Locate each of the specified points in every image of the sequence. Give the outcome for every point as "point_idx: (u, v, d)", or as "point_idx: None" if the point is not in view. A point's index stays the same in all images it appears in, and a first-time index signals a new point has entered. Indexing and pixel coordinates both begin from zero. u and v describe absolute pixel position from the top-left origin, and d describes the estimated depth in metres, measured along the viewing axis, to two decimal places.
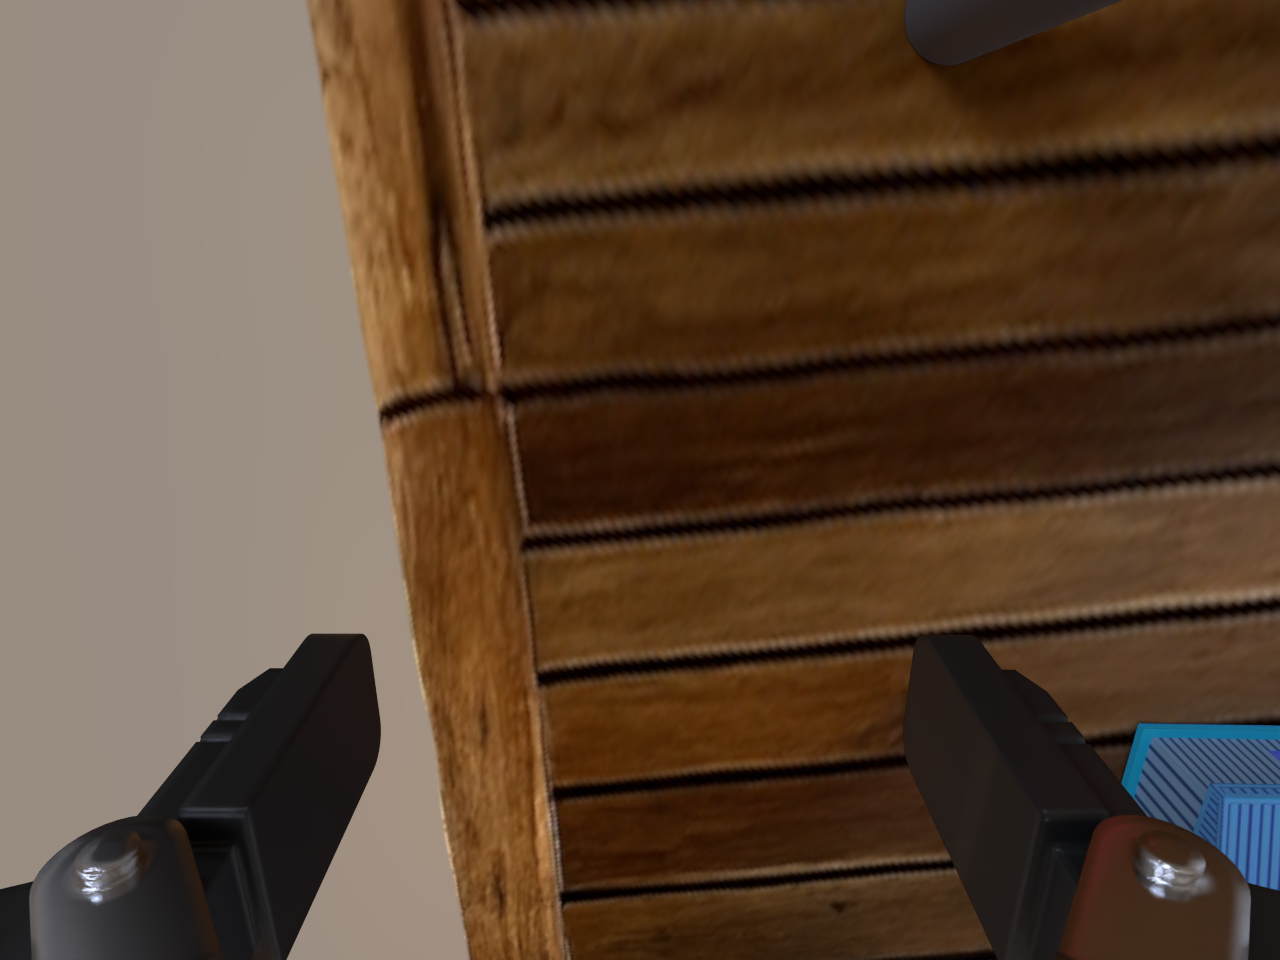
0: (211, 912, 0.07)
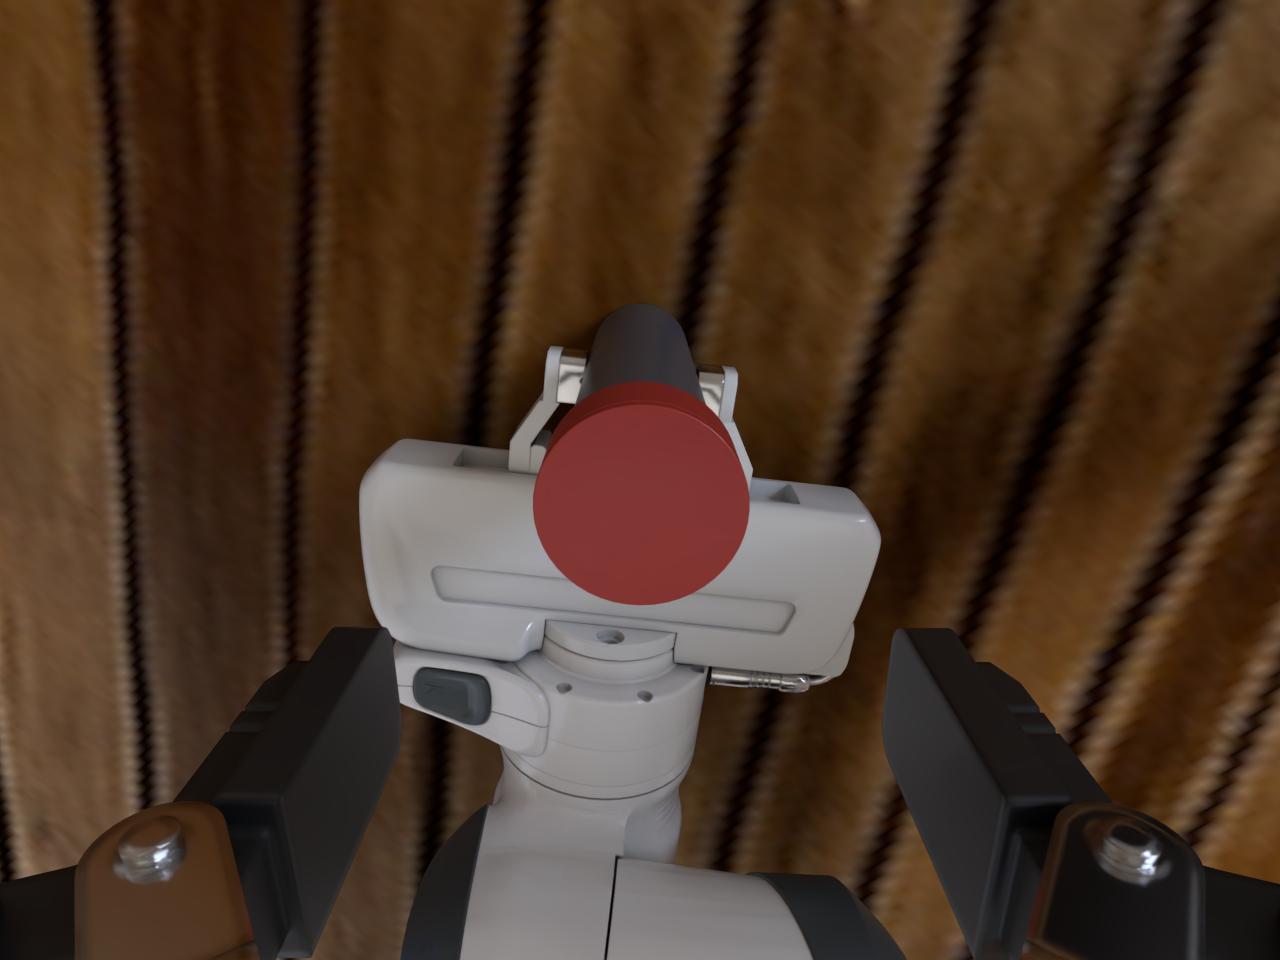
0: (248, 895, 0.08)
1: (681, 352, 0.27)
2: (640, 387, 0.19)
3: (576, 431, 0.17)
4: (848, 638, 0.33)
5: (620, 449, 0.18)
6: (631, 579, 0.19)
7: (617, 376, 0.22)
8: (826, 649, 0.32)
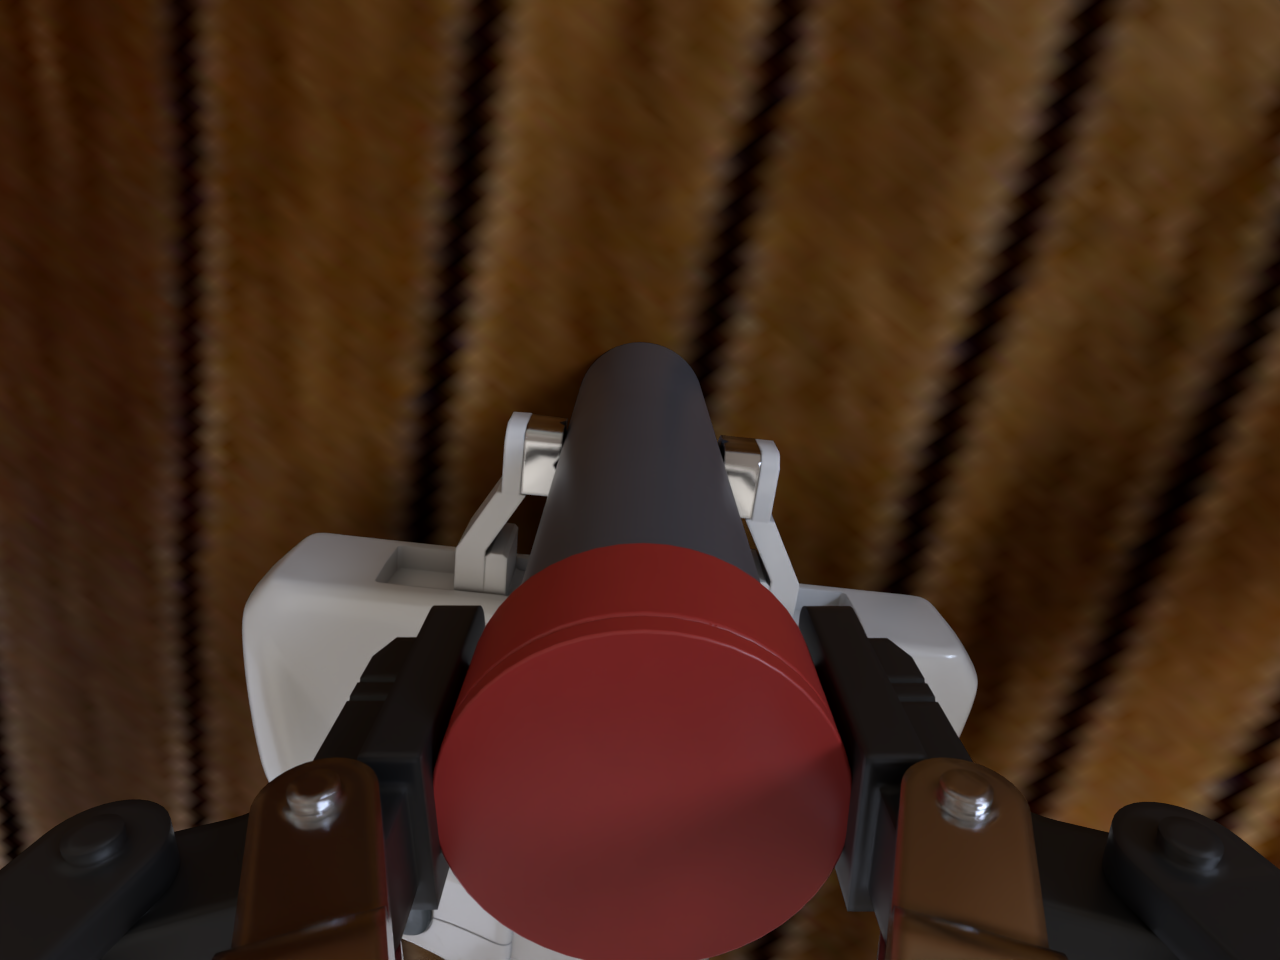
0: (395, 845, 0.08)
1: (701, 430, 0.19)
2: (640, 564, 0.10)
3: (511, 678, 0.09)
4: None
5: (600, 711, 0.09)
6: (623, 927, 0.10)
7: (602, 503, 0.13)
8: None
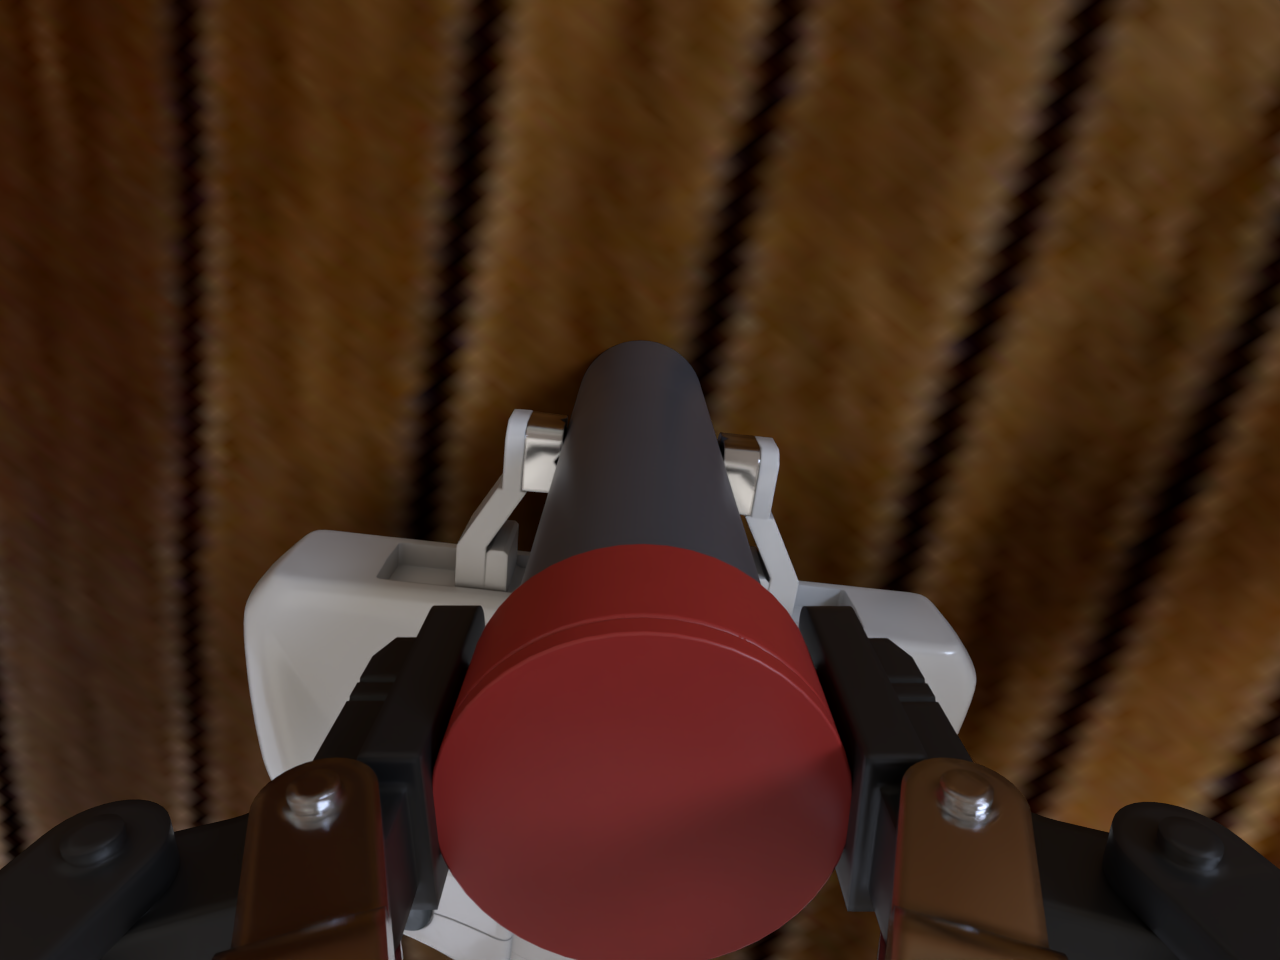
0: (395, 845, 0.08)
1: (700, 428, 0.19)
2: None
3: (490, 906, 0.10)
4: None
5: (519, 847, 0.09)
6: (791, 833, 0.09)
7: (601, 501, 0.13)
8: None
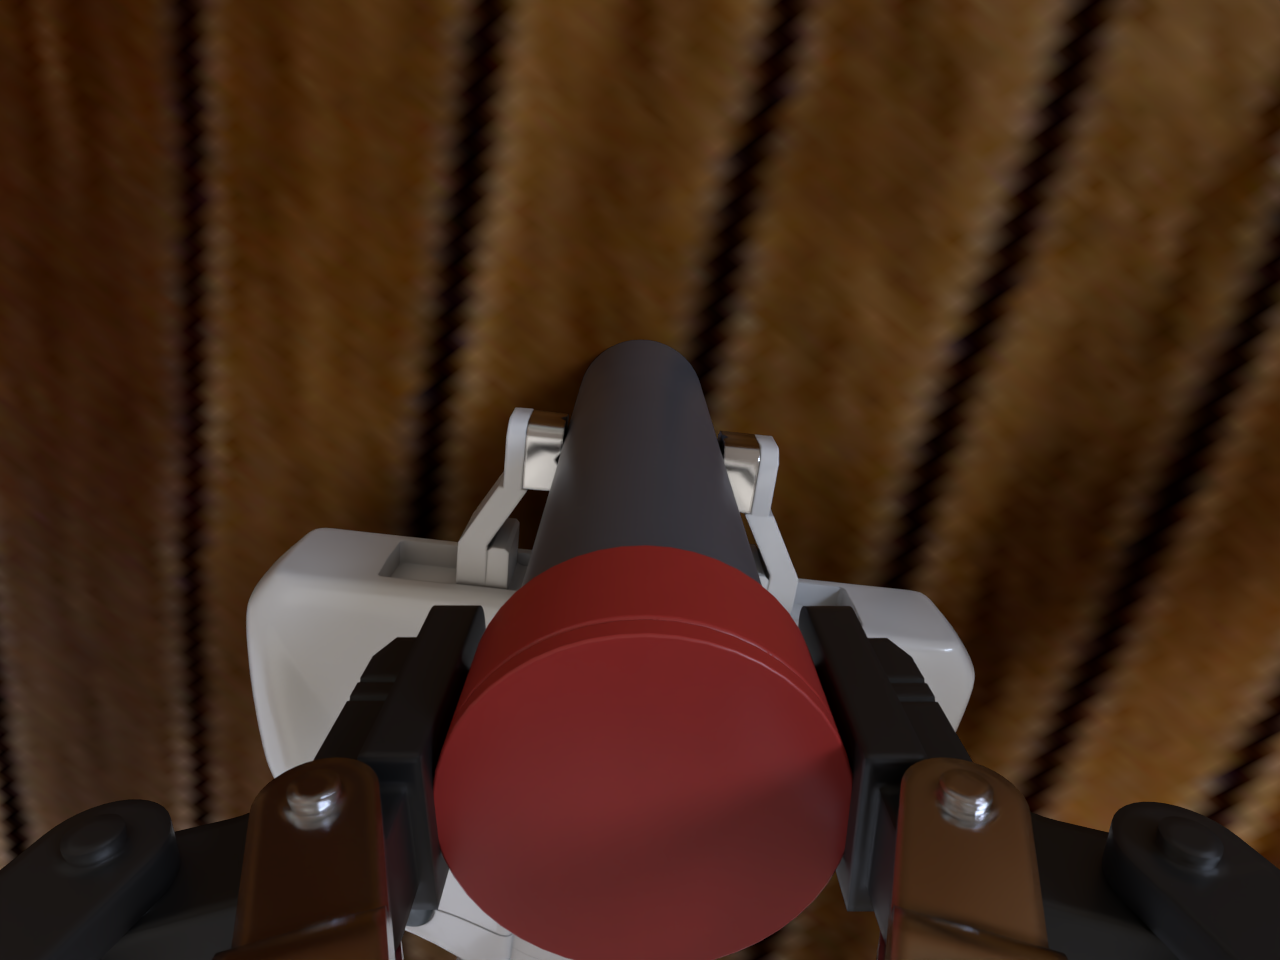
0: (395, 845, 0.08)
1: (700, 426, 0.19)
2: None
3: (754, 935, 0.10)
4: None
5: (679, 911, 0.10)
6: (666, 691, 0.09)
7: (602, 499, 0.13)
8: None
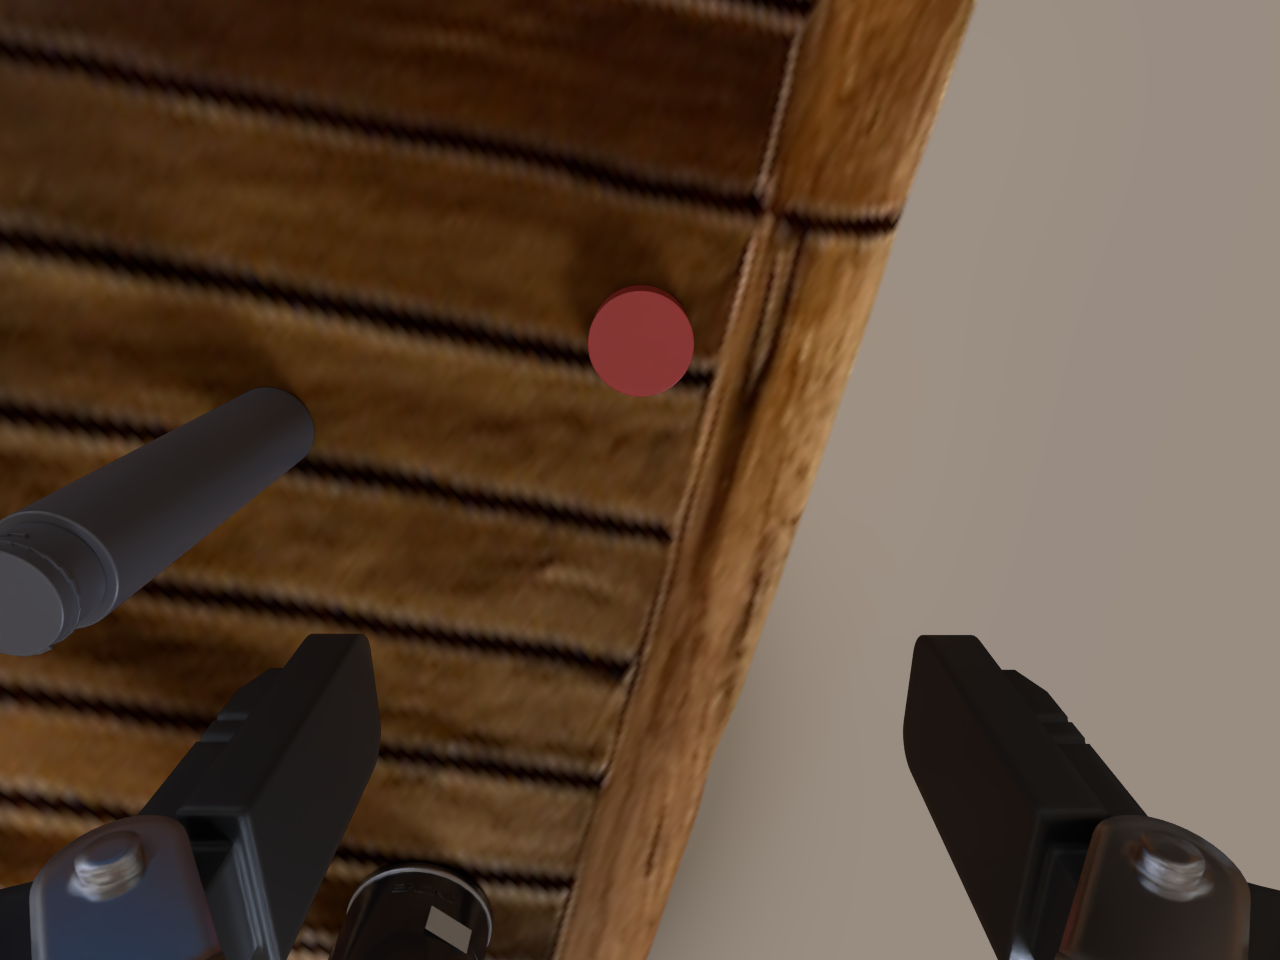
0: (211, 912, 0.07)
1: (229, 516, 0.33)
2: None
3: (600, 373, 0.37)
4: None
5: (609, 353, 0.37)
6: (678, 350, 0.37)
7: (149, 524, 0.27)
8: None
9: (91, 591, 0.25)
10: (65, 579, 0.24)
